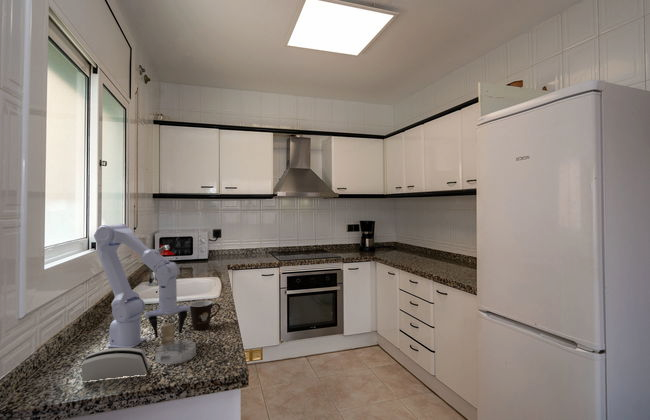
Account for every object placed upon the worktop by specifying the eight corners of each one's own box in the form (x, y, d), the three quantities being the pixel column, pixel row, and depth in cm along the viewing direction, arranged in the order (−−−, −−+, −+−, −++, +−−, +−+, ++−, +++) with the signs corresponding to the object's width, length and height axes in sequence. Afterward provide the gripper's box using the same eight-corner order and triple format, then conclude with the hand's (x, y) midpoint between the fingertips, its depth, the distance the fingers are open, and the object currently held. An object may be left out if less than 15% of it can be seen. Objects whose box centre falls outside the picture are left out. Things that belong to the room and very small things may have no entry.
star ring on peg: (147, 364, 103) (147, 354, 103) (169, 348, 115) (169, 339, 115) (183, 366, 102) (183, 356, 101) (202, 349, 113) (202, 340, 113)
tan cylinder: (159, 347, 116) (159, 327, 116) (166, 342, 120) (166, 323, 120) (170, 347, 115) (170, 327, 115) (176, 343, 119) (176, 323, 119)
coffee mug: (188, 332, 129) (188, 307, 129) (191, 325, 137) (191, 301, 137) (219, 329, 132) (219, 304, 132) (220, 322, 140) (220, 299, 140)
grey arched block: (151, 368, 100) (147, 341, 97) (146, 380, 96) (142, 353, 93) (89, 374, 97) (83, 347, 93) (82, 387, 92) (75, 360, 89)
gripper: (145, 302, 110) (146, 343, 110) (191, 296, 118) (191, 333, 118) (144, 298, 116) (144, 336, 116) (188, 292, 124) (188, 328, 124)
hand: (168, 334), depth 117 cm, fingers open, 7 cm apart
